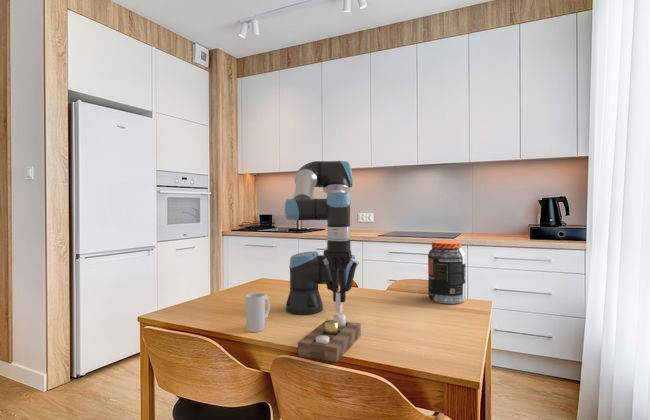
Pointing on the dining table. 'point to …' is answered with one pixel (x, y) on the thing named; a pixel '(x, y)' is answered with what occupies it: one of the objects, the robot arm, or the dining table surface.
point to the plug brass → (331, 327)
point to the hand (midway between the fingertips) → (339, 311)
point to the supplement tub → (446, 272)
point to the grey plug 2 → (340, 320)
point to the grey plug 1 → (322, 339)
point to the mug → (256, 311)
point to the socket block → (334, 346)
